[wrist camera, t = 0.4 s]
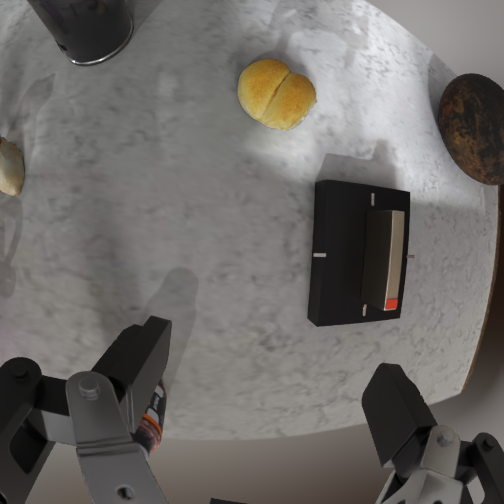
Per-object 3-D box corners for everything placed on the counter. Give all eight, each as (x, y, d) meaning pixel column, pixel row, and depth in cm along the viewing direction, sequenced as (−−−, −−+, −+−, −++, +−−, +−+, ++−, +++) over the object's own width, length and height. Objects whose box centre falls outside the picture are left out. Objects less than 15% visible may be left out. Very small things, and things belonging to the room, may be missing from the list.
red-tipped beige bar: (366, 211, 31) (394, 210, 26) (377, 212, 31) (406, 211, 26) (359, 298, 32) (385, 311, 27) (371, 298, 32) (397, 310, 27)
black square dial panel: (306, 181, 32) (316, 177, 29) (402, 194, 35) (417, 192, 32) (298, 319, 34) (308, 328, 31) (393, 311, 36) (406, 317, 33)
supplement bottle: (158, 369, 31) (146, 429, 20) (173, 407, 32) (169, 470, 21) (114, 376, 30) (89, 432, 19) (131, 413, 31) (115, 472, 20)
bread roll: (260, 56, 30) (267, 39, 26) (319, 97, 31) (333, 84, 28) (220, 100, 29) (223, 85, 26) (285, 144, 31) (296, 135, 27)
